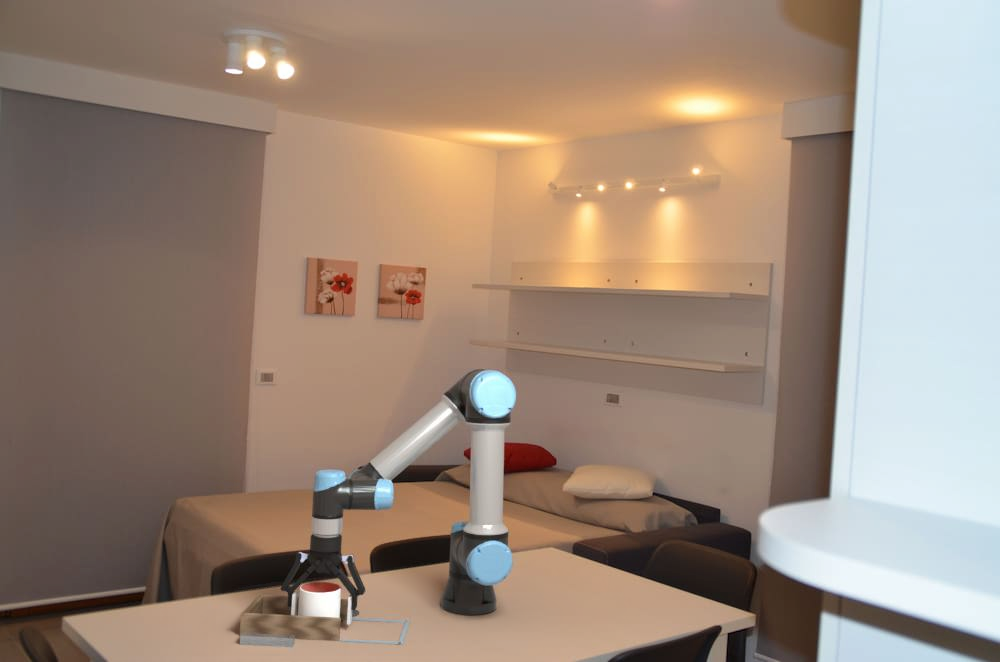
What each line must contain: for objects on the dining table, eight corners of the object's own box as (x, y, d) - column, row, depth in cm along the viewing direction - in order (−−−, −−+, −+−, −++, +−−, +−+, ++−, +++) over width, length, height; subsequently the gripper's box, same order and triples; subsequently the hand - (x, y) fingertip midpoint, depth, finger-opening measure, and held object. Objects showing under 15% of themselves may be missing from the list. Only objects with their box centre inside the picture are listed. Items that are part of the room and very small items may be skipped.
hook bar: (296, 641, 201) (296, 632, 201) (292, 647, 197) (292, 638, 197) (244, 638, 201) (245, 629, 201) (239, 644, 197) (240, 635, 197)
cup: (329, 637, 205) (331, 594, 206) (290, 632, 207) (292, 590, 207) (345, 624, 215) (347, 584, 215) (307, 620, 217) (309, 579, 217)
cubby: (350, 619, 219) (351, 599, 220) (338, 640, 203) (339, 619, 203) (258, 614, 219) (259, 594, 219) (239, 635, 203) (241, 614, 203)
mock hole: (360, 610, 227) (361, 609, 227) (357, 617, 221) (357, 616, 221) (338, 609, 227) (338, 608, 227) (333, 616, 221) (333, 615, 221)
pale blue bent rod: (409, 621, 220) (409, 620, 220) (402, 644, 203) (402, 643, 203) (352, 618, 220) (352, 617, 220) (340, 641, 203) (340, 640, 203)
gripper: (379, 533, 216) (374, 619, 215) (279, 528, 215) (274, 614, 215) (375, 540, 208) (370, 628, 208) (271, 534, 208) (266, 623, 207)
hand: (321, 621), depth 211 cm, fingers open, 13 cm apart
